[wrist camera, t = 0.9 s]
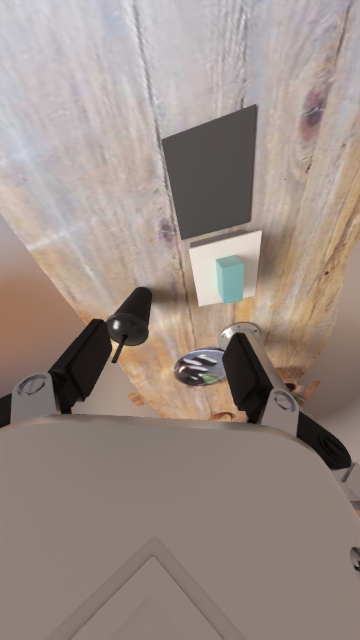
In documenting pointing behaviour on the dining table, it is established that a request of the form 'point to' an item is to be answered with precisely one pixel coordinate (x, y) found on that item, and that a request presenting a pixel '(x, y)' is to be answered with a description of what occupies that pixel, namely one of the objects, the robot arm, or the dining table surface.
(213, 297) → the lid
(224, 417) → the slice of bread
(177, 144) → the mat
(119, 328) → the drinking cup
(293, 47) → the dining table surface
